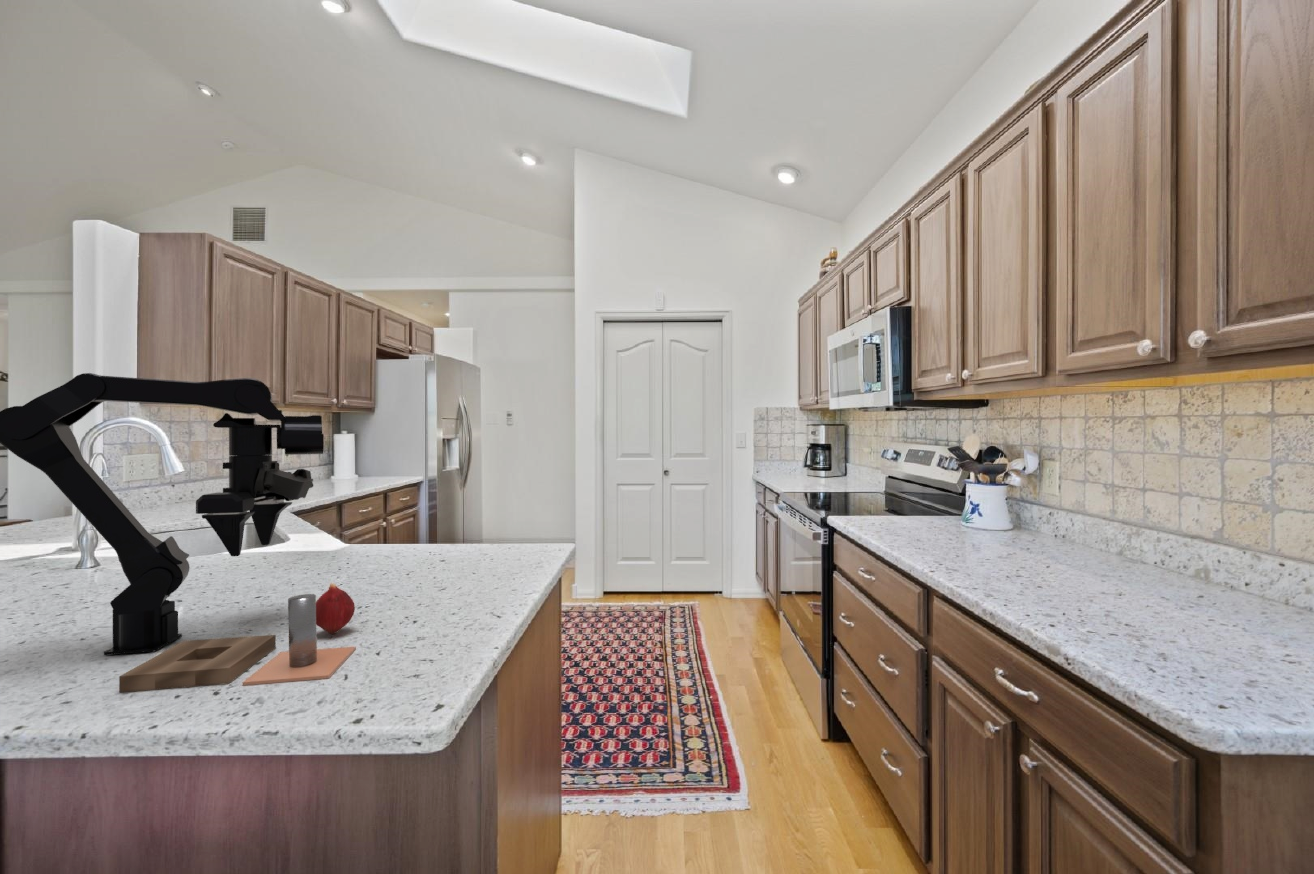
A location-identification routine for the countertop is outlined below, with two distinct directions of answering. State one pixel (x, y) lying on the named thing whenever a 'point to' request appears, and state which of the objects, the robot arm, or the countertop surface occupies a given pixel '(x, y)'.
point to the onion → (334, 609)
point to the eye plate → (198, 663)
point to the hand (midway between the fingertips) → (251, 550)
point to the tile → (283, 672)
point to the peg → (302, 630)
